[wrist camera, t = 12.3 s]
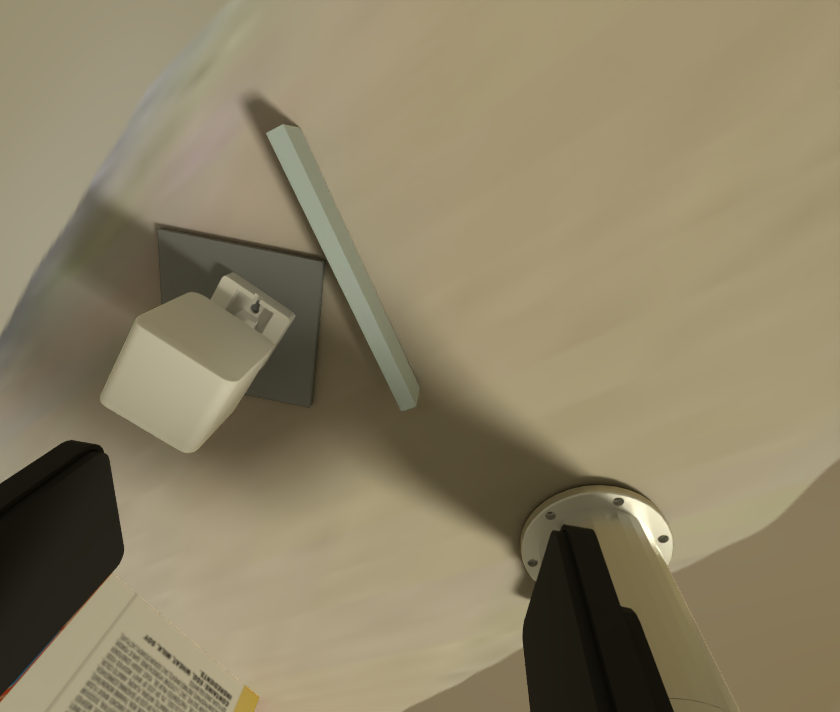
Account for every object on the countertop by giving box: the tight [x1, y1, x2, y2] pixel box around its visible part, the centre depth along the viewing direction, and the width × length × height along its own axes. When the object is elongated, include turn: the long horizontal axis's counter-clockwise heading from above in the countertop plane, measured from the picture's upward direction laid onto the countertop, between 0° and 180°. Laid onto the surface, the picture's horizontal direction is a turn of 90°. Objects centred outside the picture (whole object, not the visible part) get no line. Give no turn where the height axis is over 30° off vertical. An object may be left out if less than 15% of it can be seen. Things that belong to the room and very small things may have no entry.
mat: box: [158, 228, 325, 408], centre depth 35 cm, size 12×12×1 cm
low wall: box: [266, 124, 420, 412], centre depth 31 cm, size 20×1×3 cm, turn 23°
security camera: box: [100, 272, 295, 453], centre depth 30 cm, size 6×7×10 cm
